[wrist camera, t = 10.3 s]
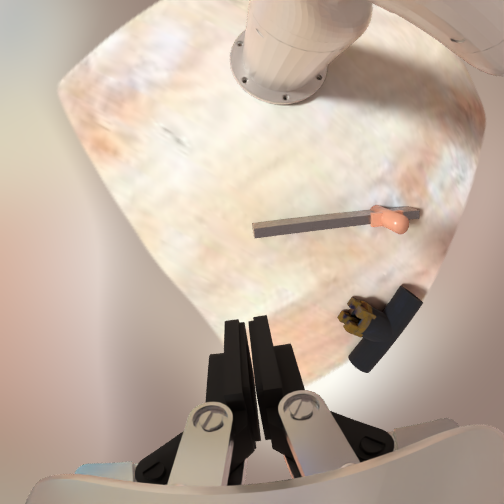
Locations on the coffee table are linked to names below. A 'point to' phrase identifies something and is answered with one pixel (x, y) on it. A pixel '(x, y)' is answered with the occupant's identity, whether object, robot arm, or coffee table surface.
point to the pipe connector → (378, 326)
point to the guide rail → (340, 221)
